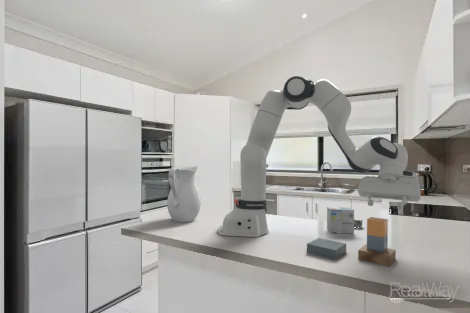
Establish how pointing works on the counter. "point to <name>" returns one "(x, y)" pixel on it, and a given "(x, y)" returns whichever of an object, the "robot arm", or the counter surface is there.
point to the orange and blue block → (377, 234)
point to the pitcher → (183, 194)
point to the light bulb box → (340, 219)
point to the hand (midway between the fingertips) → (384, 206)
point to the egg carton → (358, 223)
